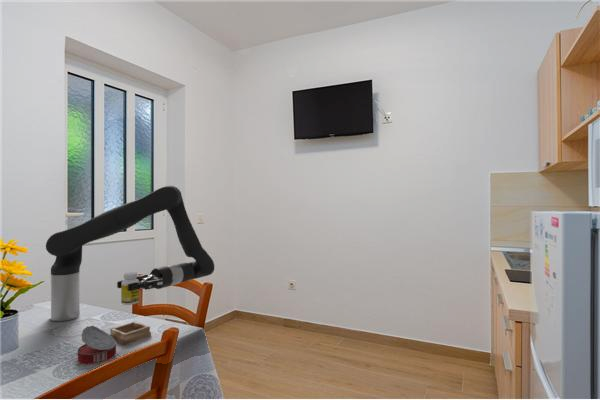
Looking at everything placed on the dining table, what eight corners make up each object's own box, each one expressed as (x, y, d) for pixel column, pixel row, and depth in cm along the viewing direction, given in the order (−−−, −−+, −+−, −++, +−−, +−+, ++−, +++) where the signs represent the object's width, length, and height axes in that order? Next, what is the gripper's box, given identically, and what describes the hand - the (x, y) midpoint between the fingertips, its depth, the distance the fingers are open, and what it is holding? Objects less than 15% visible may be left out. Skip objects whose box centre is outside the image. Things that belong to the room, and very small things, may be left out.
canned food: (101, 364, 109) (115, 330, 114) (115, 371, 103) (129, 335, 107) (63, 358, 102) (79, 322, 106) (75, 365, 96) (93, 327, 100)
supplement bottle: (132, 305, 115) (132, 275, 115) (117, 304, 116) (117, 275, 116) (142, 300, 120) (142, 272, 120) (128, 299, 121) (128, 271, 121)
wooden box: (109, 338, 117) (109, 329, 117) (135, 329, 125) (135, 320, 125) (125, 345, 112) (125, 335, 112) (151, 335, 120) (151, 326, 120)
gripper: (155, 263, 134) (110, 272, 120) (180, 268, 126) (135, 278, 112) (155, 283, 134) (110, 294, 120) (180, 289, 126) (135, 301, 112)
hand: (123, 286), depth 116 cm, fingers closed on supplement bottle, 5 cm apart
